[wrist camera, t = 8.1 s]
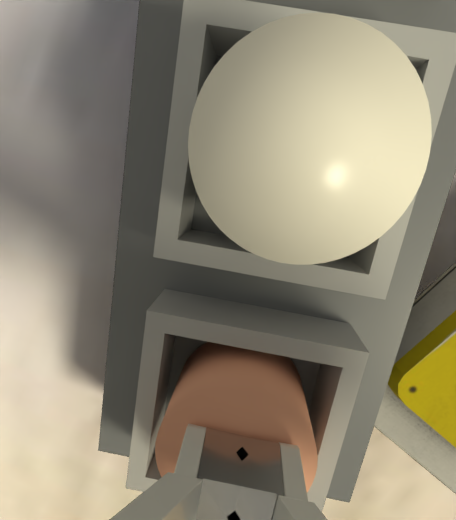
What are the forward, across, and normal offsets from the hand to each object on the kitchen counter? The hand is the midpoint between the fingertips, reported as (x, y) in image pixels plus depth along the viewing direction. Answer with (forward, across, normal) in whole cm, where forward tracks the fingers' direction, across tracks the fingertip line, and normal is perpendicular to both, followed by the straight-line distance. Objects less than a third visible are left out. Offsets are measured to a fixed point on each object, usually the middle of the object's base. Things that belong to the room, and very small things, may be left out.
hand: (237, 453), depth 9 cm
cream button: (+2, 0, +8) cm, 8 cm away
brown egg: (+3, 0, 0) cm, 3 cm away
